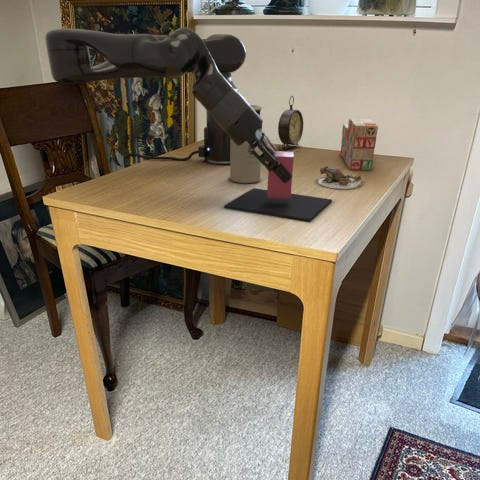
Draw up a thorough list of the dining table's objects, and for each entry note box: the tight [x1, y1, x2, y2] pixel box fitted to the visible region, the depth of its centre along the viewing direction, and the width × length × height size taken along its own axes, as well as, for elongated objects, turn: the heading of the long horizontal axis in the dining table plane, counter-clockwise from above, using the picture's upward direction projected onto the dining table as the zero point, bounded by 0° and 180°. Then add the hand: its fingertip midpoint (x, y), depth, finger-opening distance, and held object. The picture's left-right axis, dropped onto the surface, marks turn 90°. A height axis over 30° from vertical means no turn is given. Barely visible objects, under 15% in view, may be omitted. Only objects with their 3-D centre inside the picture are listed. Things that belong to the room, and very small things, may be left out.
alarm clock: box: [277, 95, 304, 151], centre depth 165 cm, size 11×5×16 cm, turn 148°
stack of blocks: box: [340, 117, 379, 171], centre depth 149 cm, size 21×6×12 cm, turn 178°
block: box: [266, 150, 295, 199], centre depth 110 cm, size 5×5×9 cm
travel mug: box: [229, 104, 263, 184], centre depth 127 cm, size 8×8×18 cm
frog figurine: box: [317, 165, 363, 190], centre depth 129 cm, size 12×12×4 cm
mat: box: [223, 187, 333, 223], centre depth 113 cm, size 20×16×1 cm
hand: (288, 176), depth 110 cm, fingers closed on block, 5 cm apart
